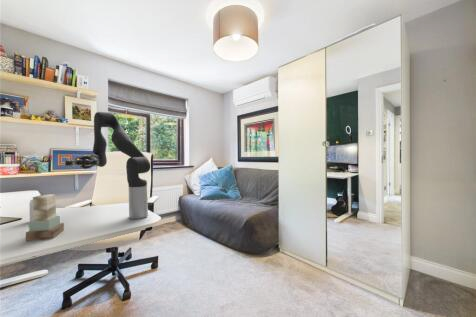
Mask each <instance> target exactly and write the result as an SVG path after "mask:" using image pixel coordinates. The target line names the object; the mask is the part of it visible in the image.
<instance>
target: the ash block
mask: <svg viewBox="0 0 476 317" xmlns="http://www.w3.org/2000/svg"><path fill="white" fill-rule="evenodd" d="M32 199H33V213H34V221H45V220H50V219H52V218H54V217H56V216H57V203H56V204H55V200H56V194H55V193H54V194H51V193H50V194H41V195H40V194H39V195H37V196H34V197H32Z"/></svg>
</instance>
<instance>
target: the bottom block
mask: <svg viewBox="0 0 476 317" xmlns="http://www.w3.org/2000/svg"><path fill="white" fill-rule="evenodd" d="M64 231H65V224H64V222H60V224H59V225H58V226H56V227H54V228H52V229H50V230H43V231H29V230H28V231H26V232H25V242H32V241H34V242H35V241H41V240H42V241H43V240H51V239H55V238H56V237H57V236H58V235H60V234H62V233H63V232H64Z"/></svg>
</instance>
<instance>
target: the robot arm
mask: <svg viewBox="0 0 476 317" xmlns="http://www.w3.org/2000/svg"><path fill="white" fill-rule="evenodd" d="M102 128H111V129H112V131H113V132H112V133H111V138H110V139H111V142H112V144H113V145H114V146H115V148H116V150H118V151H119V152H121V153H122V154H125V155H126V156H129V158H128V159H127V160H126V164H125V165H126V168H125V169H126V180H127V184H128V186H127V187H128V217H129V218H128V219H131V220H140V219H143V218H147V217H148V215H149V205H148V204H149V199H148V181H147V180H146V179H143V178H140V176H139V175H140V174H146V173H148V172H149V171H150V170H151V162H150V161H149V159H148V157H147V156H145V154H144V153H143V152H141V150H140V149H139V148H138V147H137V146H136V144H135V143H134V142H133V140H132V139H131V137H130V136H129V135H128V133H127V132H126V131H125V129H124V128H123V127H122V125H121V123H120V121H119V119H118V118H117V116H116V115H115V114H114V113H113V112H105V111H97V112H95V113H94V115H93V132H94V133H93V135H94V136H93V137H94V138H93V140H94V141H93V147H92V153H93V154H92V153H91V154H90V155H83V156H80V158H79V159H73V160H72V159H71V160H65V162H64V163H65V166H66V167H67V166H69V167H70V166H73V167H80V168H82V169H85V170H87V169H92V168H94V167H99V168H104V167H105V166H106V165H107V161H108V159H107V154H106V151H107V144H108V143H107V140H106V138H105V137H104V135H103V133H102Z"/></svg>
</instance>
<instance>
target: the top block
mask: <svg viewBox="0 0 476 317" xmlns="http://www.w3.org/2000/svg"><path fill="white" fill-rule="evenodd" d="M60 223H61V216H60V215H56V217H54V218H52V219H50V220H45V221H34V220H32V221H30V220H29V222H28V228H29V229H28V231H43V230H50V229H52V228H54V227H56V226H58V225H59V224H60Z"/></svg>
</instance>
